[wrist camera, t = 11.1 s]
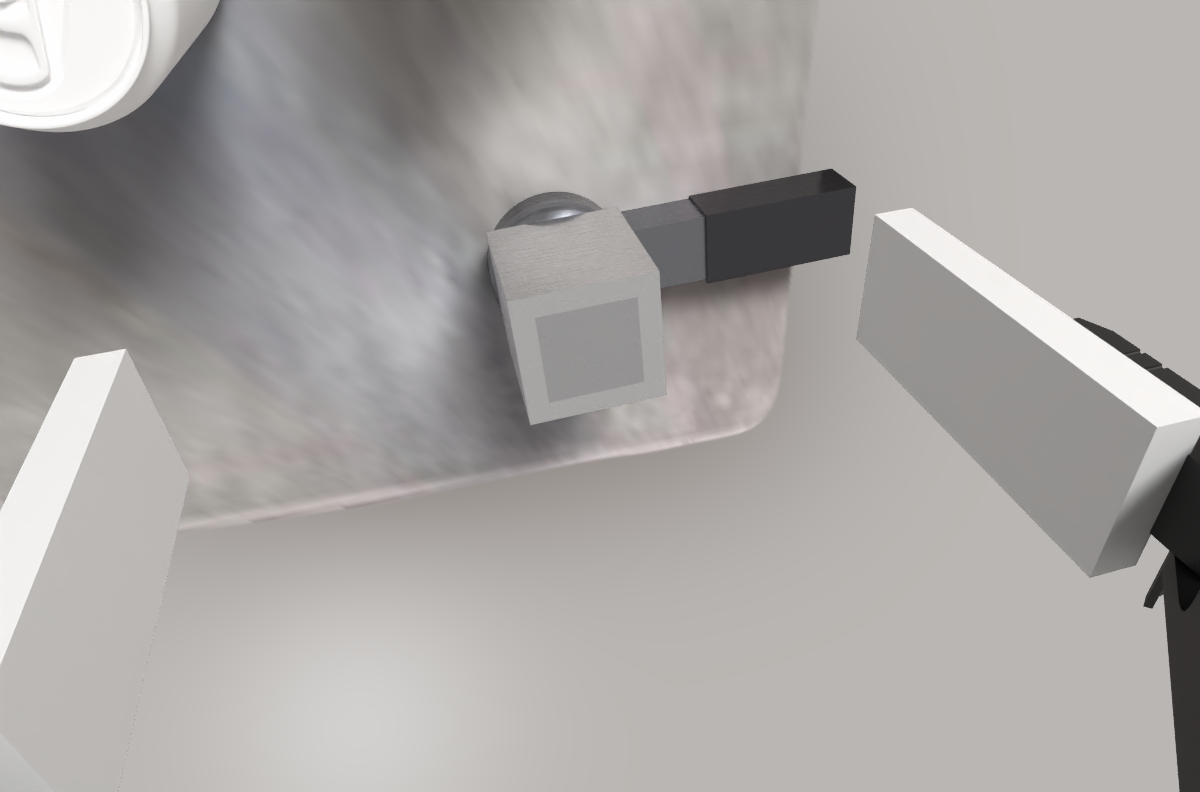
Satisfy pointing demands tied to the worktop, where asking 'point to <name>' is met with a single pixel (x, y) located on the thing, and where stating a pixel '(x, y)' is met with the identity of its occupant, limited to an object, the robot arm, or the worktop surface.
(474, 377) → the worktop surface
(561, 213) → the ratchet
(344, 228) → the worktop surface
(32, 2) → the beverage can
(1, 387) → the worktop surface
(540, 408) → the brushed cube with inset
